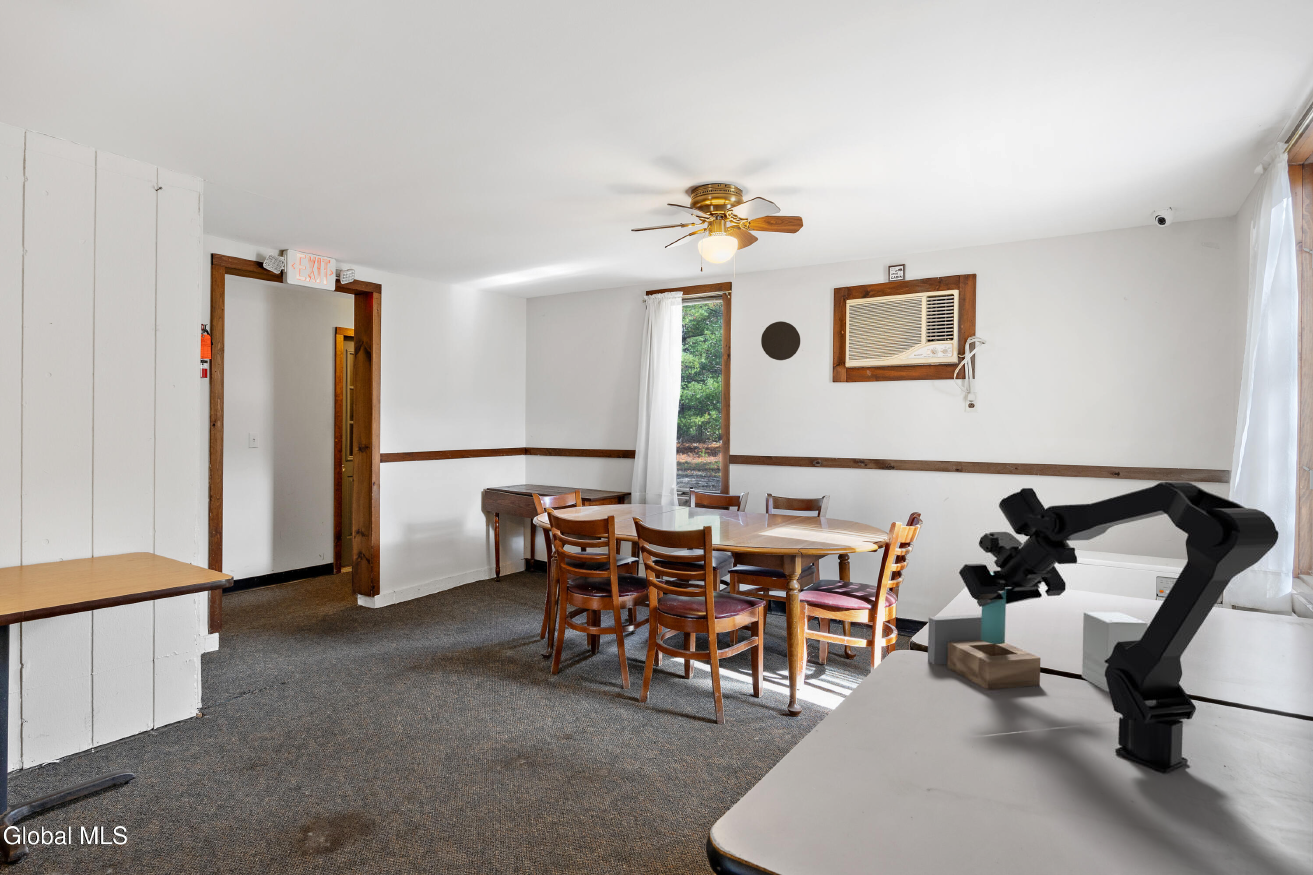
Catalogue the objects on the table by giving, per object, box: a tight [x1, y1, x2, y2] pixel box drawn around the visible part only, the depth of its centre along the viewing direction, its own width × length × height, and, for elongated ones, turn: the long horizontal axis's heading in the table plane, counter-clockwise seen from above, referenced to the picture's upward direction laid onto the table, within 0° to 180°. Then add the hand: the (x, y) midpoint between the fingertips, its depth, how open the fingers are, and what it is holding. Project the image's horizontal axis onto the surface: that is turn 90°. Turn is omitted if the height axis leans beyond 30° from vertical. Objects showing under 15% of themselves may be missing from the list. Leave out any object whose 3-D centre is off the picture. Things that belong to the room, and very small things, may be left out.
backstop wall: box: [927, 613, 982, 666], centre depth 135 cm, size 2×14×9 cm, turn 104°
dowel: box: [981, 571, 1007, 644], centre depth 126 cm, size 4×4×12 cm
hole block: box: [946, 640, 1041, 691], centre depth 127 cm, size 11×11×5 cm
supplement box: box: [1081, 611, 1149, 692], centre depth 124 cm, size 7×7×13 cm
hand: (988, 603), depth 128 cm, fingers closed on dowel, 4 cm apart
